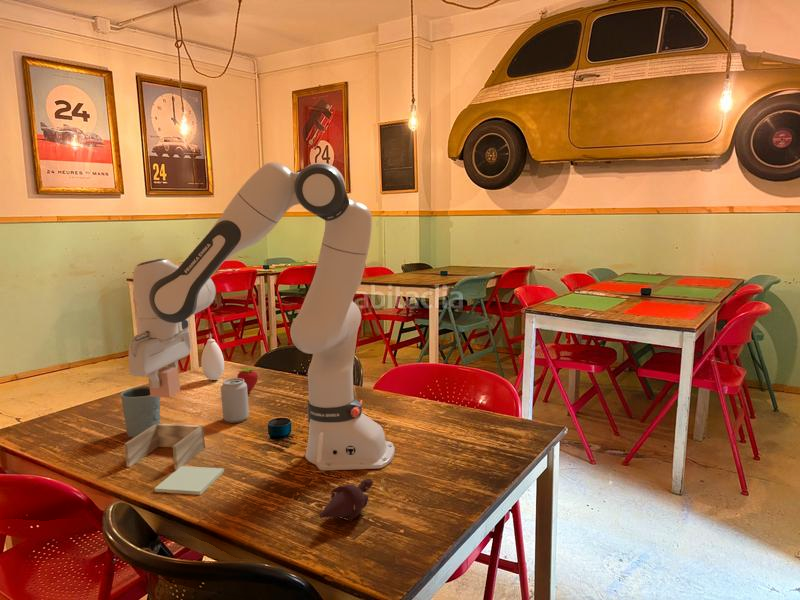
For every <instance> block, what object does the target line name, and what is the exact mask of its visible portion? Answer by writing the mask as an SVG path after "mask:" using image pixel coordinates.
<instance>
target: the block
mask: <svg viewBox="0 0 800 600" xmlns="http://www.w3.org/2000/svg"><path fill="white" fill-rule="evenodd" d="M178 367H179V366H178ZM178 367H169V366H168V367H167V366H165V367H162V368H160V369H158V374H157V375H158V377H159V379H162V386H161V387H159V388H152V383H151V380H150V379H149V377H148V376H147V378H148V386H149V387H150V396H151V397H160V398H171V397H172V396H174V395H176V394H178V393H180V392H181V388H180V387H181V385H180V377H179V368H178Z"/></svg>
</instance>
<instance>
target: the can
mask: <svg viewBox="0 0 800 600" xmlns="http://www.w3.org/2000/svg"><path fill="white" fill-rule="evenodd" d="M248 393H249V392H247V384H246V383H245V382H244V379H242V378H237V377H235V378H234V377H231V378H228V379H225V380H223V381H222V385H221V386H220V395H221V409H222V419H223V420H225V422H226V423H231V424H236V423H237V424H238V423H241V422H244V421H246V420H247V419H248V418H249V416H250V407H249V397H248V396H249V395H248Z"/></svg>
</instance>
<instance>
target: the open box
mask: <svg viewBox="0 0 800 600" xmlns="http://www.w3.org/2000/svg"><path fill="white" fill-rule="evenodd" d="M204 429H205V428H204V425H196V424H194V425H193V424H176V423H175V424H173V423H172V424H169V423H160V424H154V425H153V426H151V427H150V428H148V429H147V430H145V431H144V432H142V433H140V434H139V435H137V436H136V437H134V438H131V439H130V440H128V441H127V442H125V443H124V455H125V461H126V467H127V468H130V467H132V466H133V465H136V463H138V462H140V461H141V460H142V459H143V458H145V457H146V456H148V455H149V454H150V453H152V452H153V451H155V450H156V449H157V448H159V447H162V448H163V447H164V448H165V447H168V448H172V454H173V464H174V471H176V470H177V469H178V468H180V467H181V466H185V465H186V464H187V463H189V462H190V460H192V459H193V458H194V457H195V456H196V455H198V454H199V453H200V452H202V451H203V449H205V448H206V444H205V430H204Z"/></svg>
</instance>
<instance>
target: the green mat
mask: <svg viewBox="0 0 800 600" xmlns="http://www.w3.org/2000/svg"><path fill="white" fill-rule="evenodd" d="M224 472H225V468H221V467H219V468H218V467H205V466H204V467H203V466H202V467H201V466H185V465H183V466H181V467H180V468H178V469H177V470H174V472H172V473H171V474H170V475H168V476H167V477H166V478H165V479H163V481H161V482H160V483H159V484H158V485H157V486H155V487H154V492H155V493H165V492H166V493H167V494H169V493H170V494H182V495H183V494H184V495H197V496H198V495H199V496H200V495H203V493H204V492H205V491H206V490H207V489H208V488H209V487H210V486H211V485H213V483H214V482H215V481H216V480H217V479H218V478H220V476H221V475H222V474H223V473H224Z"/></svg>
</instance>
